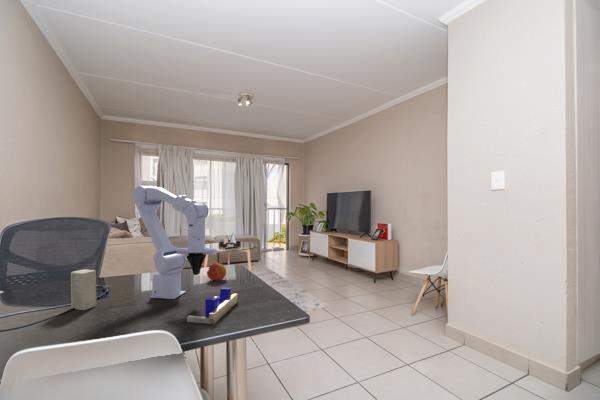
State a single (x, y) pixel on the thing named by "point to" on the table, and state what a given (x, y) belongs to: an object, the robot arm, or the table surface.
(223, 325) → the table surface
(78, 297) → the skincare box
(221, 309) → the frame
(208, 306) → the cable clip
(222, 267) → the fruit
